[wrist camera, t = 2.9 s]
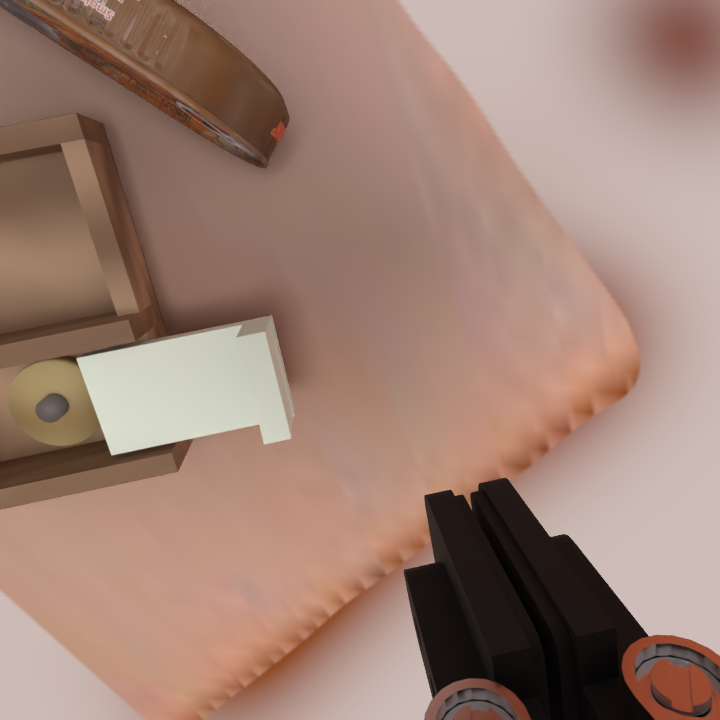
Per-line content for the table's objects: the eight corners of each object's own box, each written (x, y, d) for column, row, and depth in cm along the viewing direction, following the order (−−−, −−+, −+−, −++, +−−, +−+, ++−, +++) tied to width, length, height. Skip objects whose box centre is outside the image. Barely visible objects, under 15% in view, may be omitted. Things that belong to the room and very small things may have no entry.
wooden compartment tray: (-138, 168, 24) (-236, 160, 20) (102, 123, 25) (58, 106, 20) (-3, 473, 29) (-57, 521, 25) (196, 431, 29) (177, 471, 25)
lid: (83, 353, 24) (51, 375, 21) (272, 315, 25) (267, 331, 22) (117, 448, 26) (92, 481, 23) (295, 410, 26) (293, 438, 23)
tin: (-41, -20, 23) (-231, -142, 15) (-13, -93, 22) (-194, -262, 14) (269, 179, 26) (253, 169, 18) (301, 121, 26) (299, 84, 18)
